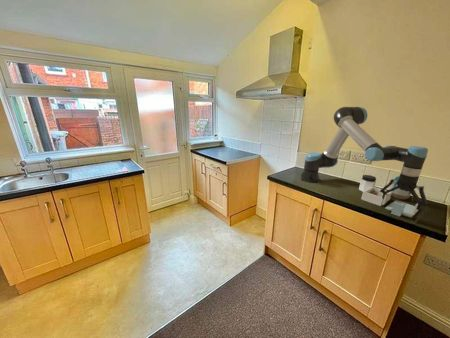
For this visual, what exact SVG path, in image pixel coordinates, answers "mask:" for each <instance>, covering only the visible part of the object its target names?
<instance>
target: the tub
mask: <svg viewBox="0 0 450 338" xmlns="http://www.w3.org/2000/svg"><path fill="white" fill-rule="evenodd" d="M381 189H382V188H379V187H376V186H374V187H371V188H369V189H367V190H365V191H363V192H362V195H361V198H360V200H362V201H365V202H367V203H370V204H374V205H377V206H379V207H381V206H384V205H383V204H382V203H383V200H384V199H382V196H383V193H382V192H380V190H381ZM372 191H376V192H378V194H377V195H374V194H371V192H372ZM384 191H387V189H386V190H384ZM387 194H388V197H387V200H386V203H388V201H390V200H391V198H392V195H391V194H392V192H389V193H387Z"/></svg>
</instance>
